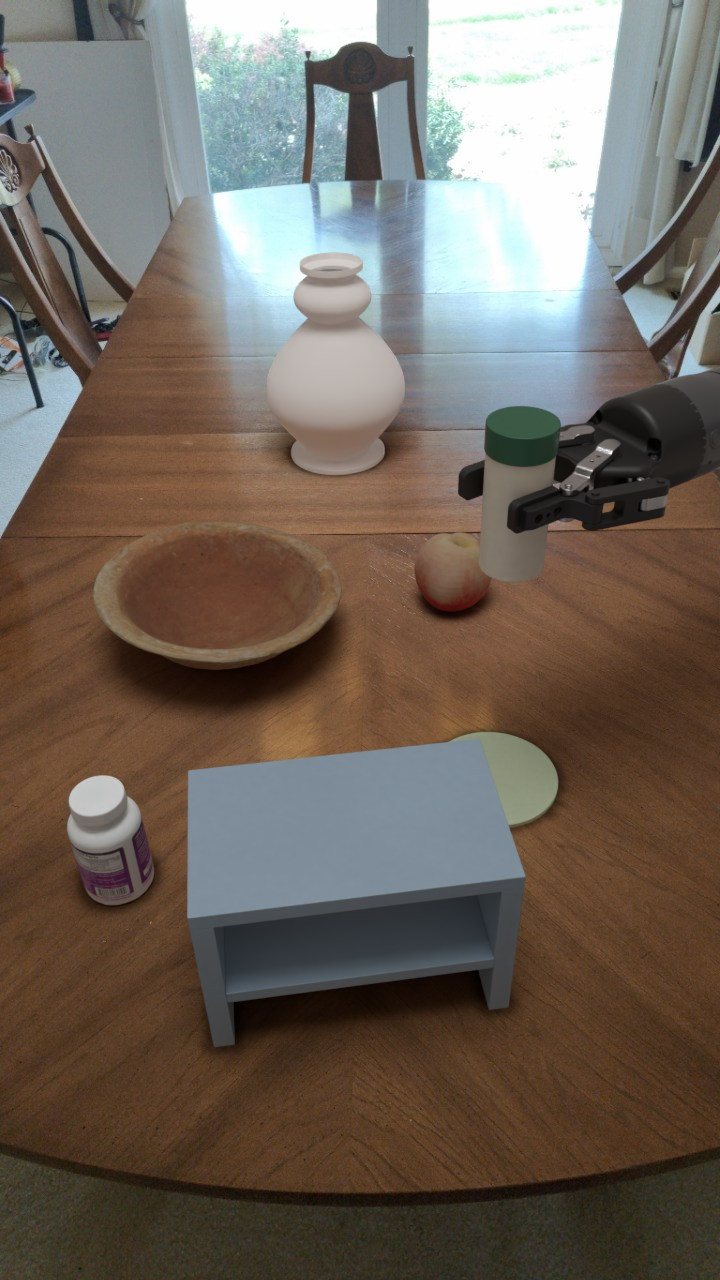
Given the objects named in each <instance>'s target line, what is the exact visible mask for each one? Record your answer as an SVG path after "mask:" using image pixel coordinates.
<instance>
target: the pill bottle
mask: <svg viewBox="0 0 720 1280" xmlns="http://www.w3.org/2000/svg"><path fill="white" fill-rule="evenodd" d="M68 806H69V811H70V814H69V816H68V819H67V824H66V833H67V837H68V840H69V843H70V846H71V849H72V852H73V856H74V858H75V861H76V865H77V868H78V871H79V874H80V877H81V880H82V883H83V886H84V889H85V891H86V893H87V894H88V896H89V897H90V898H91V899H92V900H94V901H95V902H97V903H99V904H102V905H104V906H120V905H123V904H127V903H130V902H132V901H135V900H137V899H139V898H140V897H141V896H143V894H145V893H146V892H147V891H148V889H149V887H150V886H151V884H152V883H153V881H154V876H155V867H154V861H153V856H152V853H151V847H150V844H149V841H148V836H147V832H146V828H145V825H144V820H143V817H142V812H141V810H140V807H139V806H138V804H137V803H136V802H135V800H133V798H131V797H130V796H128V795H127V791H126V789H125V786H124V784H123V783H122V781H120V780H119V778H116V777H115V776H111V775H104V774H101V775H94V776H91V777H87V778H86V779H84V780H82V781H80V782H79V783H77V784H76V785H75V786H74V787H73V788H72V790H71V792H70V793H69V796H68Z"/></svg>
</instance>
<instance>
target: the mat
mask: <svg viewBox="0 0 720 1280" xmlns="http://www.w3.org/2000/svg"><path fill="white" fill-rule="evenodd" d="M472 739H480V741H481V744H482V747H483V750H484V753H485V756H486V759H487V762H488V765H489V768H490V771H491V774H492V777H493V780H494V783H495V786H496V789H497V792H498V795H499V798H500V801H501V804H502V807H503V810H504V813H505V816H506V819H507V822H508V825H509V828H510V829H512V828H517V827H521V826H525V825H528V824H530V823H532V822H534V821H536V820H538V819H539V818H541V817H542V816H543V815H544V814H545V813H547V812H548V811H549V809H551V807H552V806H553V804H554V803H555V800H556V798H557V794H558V790H559V776H558V772H557V769H556V767H555V766H554V764H553V762H552V760H551V759H550V757H549V756H548V755H547V754H546V753H545V752H544V751H543V750H541V749H540V748H539V747H538V746H537V745H535V744H533V743H532V742H530V741H528V740H525V738H524V739H523V738H521V737H519V736H515V735H513V734H508V733H504V732H496V731H477V732H472V733H467V734H464V735H463V734H462V735H459V736H457V737H455V738H453V739H451V740H449V741H448V742H453V741H463V740H472Z"/></svg>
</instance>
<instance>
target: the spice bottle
mask: <svg viewBox="0 0 720 1280" xmlns="http://www.w3.org/2000/svg"><path fill="white" fill-rule="evenodd" d="M484 425H485V426H484V440H483V449H484V453H485V454H484V460H485V466H484V483H483V495H482V500H481V501H482V503H481V516H480V517H481V518H480V537H479V542H480V550H479V566H480V568H481V570H482V571H483V572H484V573H485V574H486V575H488V576H489V577H491V578H492V579H494V580H497V581H500V582H505V583H522V582H529V581H531V580H533V579H536V578H537V577H538V576H540V575H541V573H542V572H543V571H544V568H545V559H546V552H547V551H546V550H547V541H548V532H549V524H547V525H545V526H542V527H540V528H537V529H535V530H529V531H524V532H521V533H518V534H516V533H514V532H513V531H511V530H510V529H508V528H507V516H508V507H509V504H510V503H511V502H512V501H513V500H515V499H517V498H520V497H523V496H525V495H528V494H531V493H533V492H536V491H539V490H542V489H544V488H547V487H549V486H552V485H553V486H554V484H553V479H554V469H555V460H556V455H557V453H558V447H559V438H560V429H561V427H562V422H561V419H560V418H559V417H558V416H557V415H556V414H555V413H553V412H551V411H549V410H546V409H543V408H540V407H535V406H530V405H529V406H527V405H513V406H506V407H500V408H499V409H496V410H494V411H492V412H491V413H489V414H488V415H487V417H486V419H485V423H484Z"/></svg>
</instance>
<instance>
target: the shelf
mask: <svg viewBox="0 0 720 1280" xmlns="http://www.w3.org/2000/svg"><path fill="white" fill-rule="evenodd" d="M186 858H187V862H186V864H187V865H186V866H187V868H186V869H187V873H186V874H187V875H186V876H187V877H186V878H187V881H186V885H187V886H186V888H187V889H186V891H187V892H186V898H187V899H186V908H187V909H186V919H187V924H188V929H189V934H190V939H191V943H192V947H193V952H194V957H195V963H196V967H197V972H198V977H199V982H200V987H201V992H202V996H203V1002H204V1006H205V1010H206V1015H207V1020H208V1025H209V1030H210V1035H211V1039H212V1045H213V1048H219V1047H220V1048H221V1047H226V1046H234V1045H235V1044H236V1033H235V1008H234V1007H235V1006H234V1003H235V1002H244V1001H250V1000H251V1001H252V1000H257V999H266V998H274V997H281V996H290V995H297V994H305V993H313V992H321V991H327V990H336V989H342V988H350V987H356V986H357V987H358V986H365V985H372V984H381V983H389V982H395V981H396V982H397V981H403V980H404V981H405V980H410V979H419V978H426V977H433V976H442V975H449V974H456V973H463V972H471V971H478V975H479V979H480V982H481V986H482V989H483V990H482V991H483V994H484V997H485V1001H486V1004H487V1008H488V1011H493V1010H500V1009H507V1008H509V1006H510V1000H511V992H512V984H513V977H514V976H513V975H514V968H515V961H516V954H517V948H518V947H517V946H518V937H519V930H520V925H521V924H520V923H521V916H522V909H523V900H524V894H525V886H526V879H527V875H526V873H525V870H524V867H523V863H522V862H521V858H520V855H519V851H518V849H517V846H516V843H515V840H514V836H513V834H512V830H511V828H509V825H508V822H507V819H506V816H505V813H504V810H503V807H502V804H501V801H500V798H499V795H498V792H497V789H496V786H495V783H494V780H493V777H492V774H491V771H490V768H489V765H488V762H487V759H486V756H485V753H484V750H483V747H482V744H481V741H480V739H472V740H463V741H453V742H449V741H446V742H437V743H435V742H434V743H427V744H418V745H409V746H399V747H391V748H381V749H373V750H363V751H354V752H345V753H335V754H327V755H317V756H309V757H307V756H306V757H299V758H288V759H280V760H272V761H271V760H270V761H263V762H252V763H243V764H233V765H225V766H217V767H216V766H215V767H207V768H197V769H189V770H187V857H186Z"/></svg>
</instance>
